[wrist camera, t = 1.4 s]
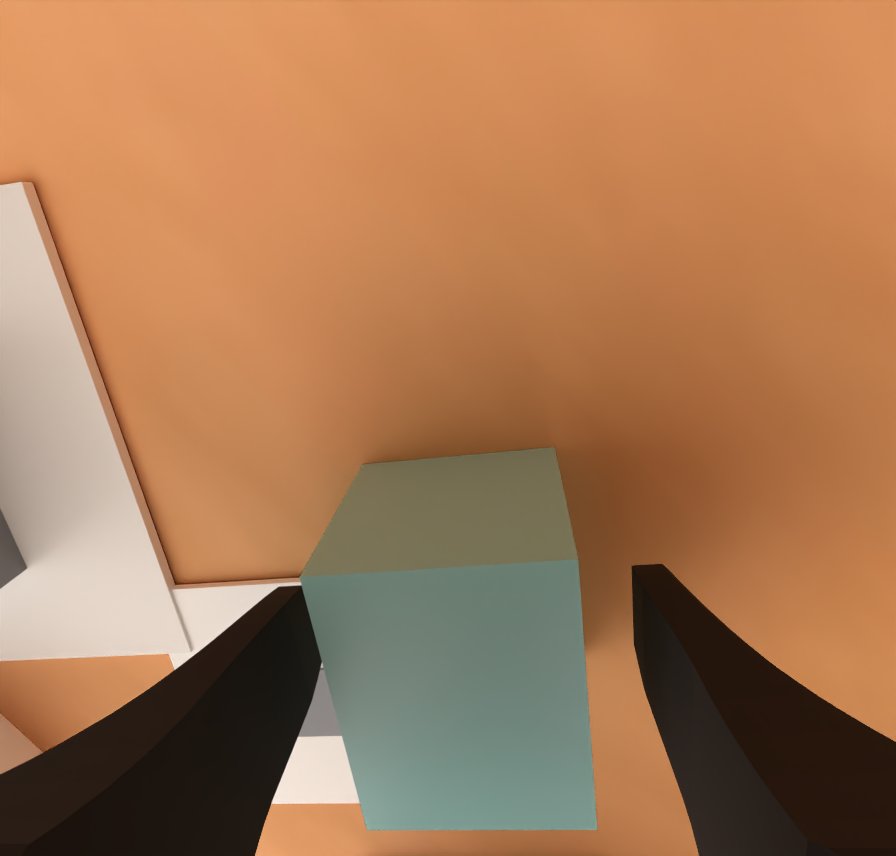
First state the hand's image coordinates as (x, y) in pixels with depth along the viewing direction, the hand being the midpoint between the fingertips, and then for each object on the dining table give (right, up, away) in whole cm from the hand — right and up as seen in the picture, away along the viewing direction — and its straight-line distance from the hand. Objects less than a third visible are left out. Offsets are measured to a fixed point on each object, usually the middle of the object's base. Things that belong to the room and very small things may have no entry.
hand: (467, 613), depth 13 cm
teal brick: (0, +1, +2) cm, 2 cm away
